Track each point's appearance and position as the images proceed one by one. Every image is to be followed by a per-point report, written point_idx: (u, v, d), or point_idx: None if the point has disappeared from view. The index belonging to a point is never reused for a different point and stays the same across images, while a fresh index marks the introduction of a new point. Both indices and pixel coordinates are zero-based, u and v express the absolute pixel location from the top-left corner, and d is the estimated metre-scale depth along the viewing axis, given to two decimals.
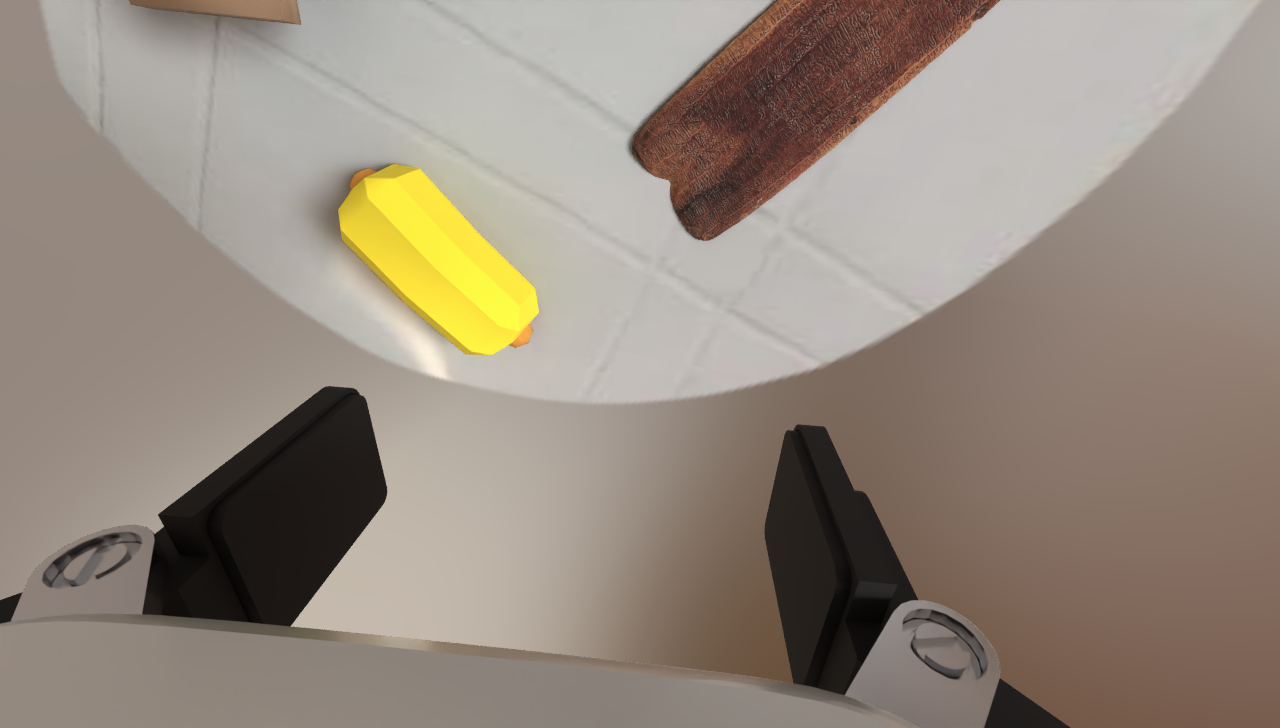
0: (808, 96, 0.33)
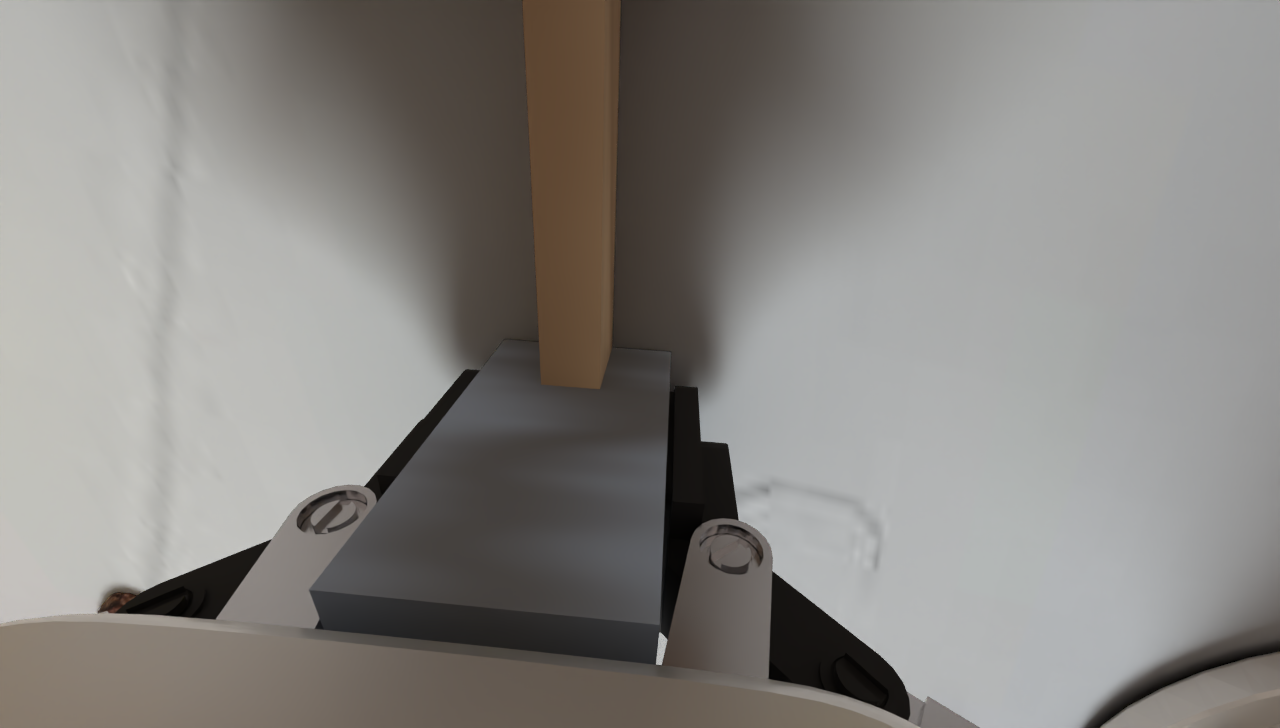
0: None
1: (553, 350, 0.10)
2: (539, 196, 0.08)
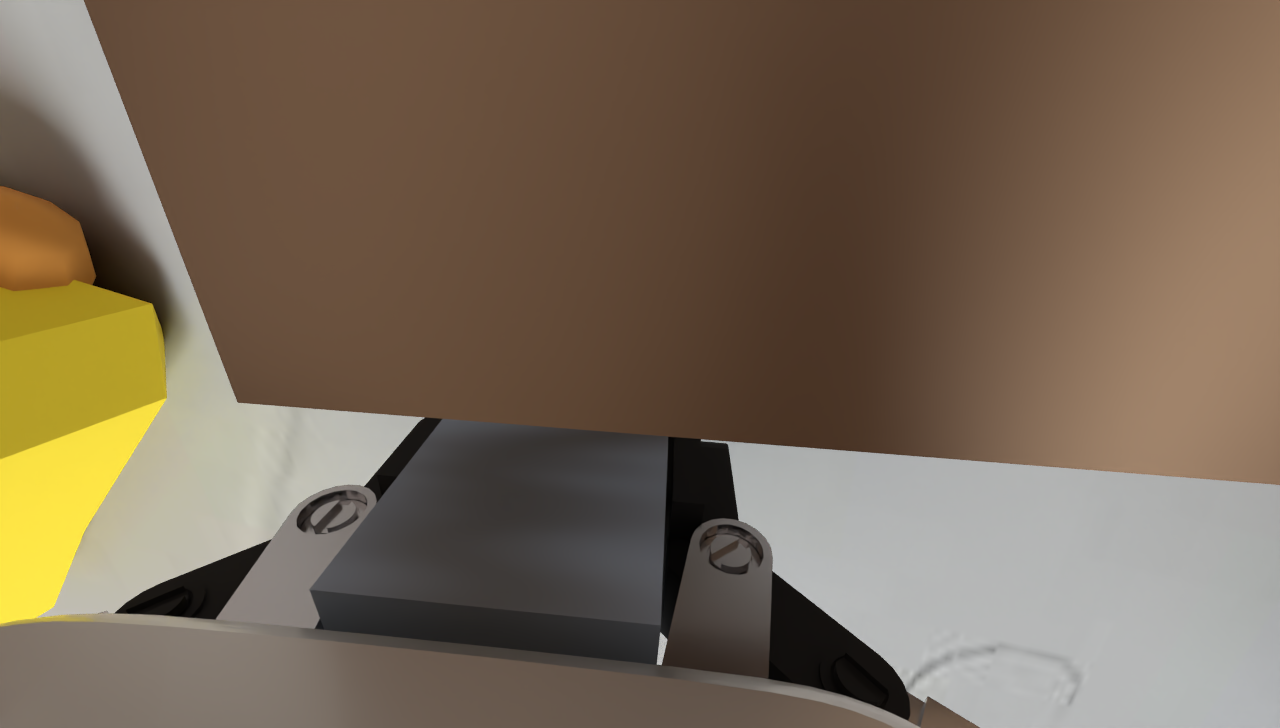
0: None
1: None
2: None
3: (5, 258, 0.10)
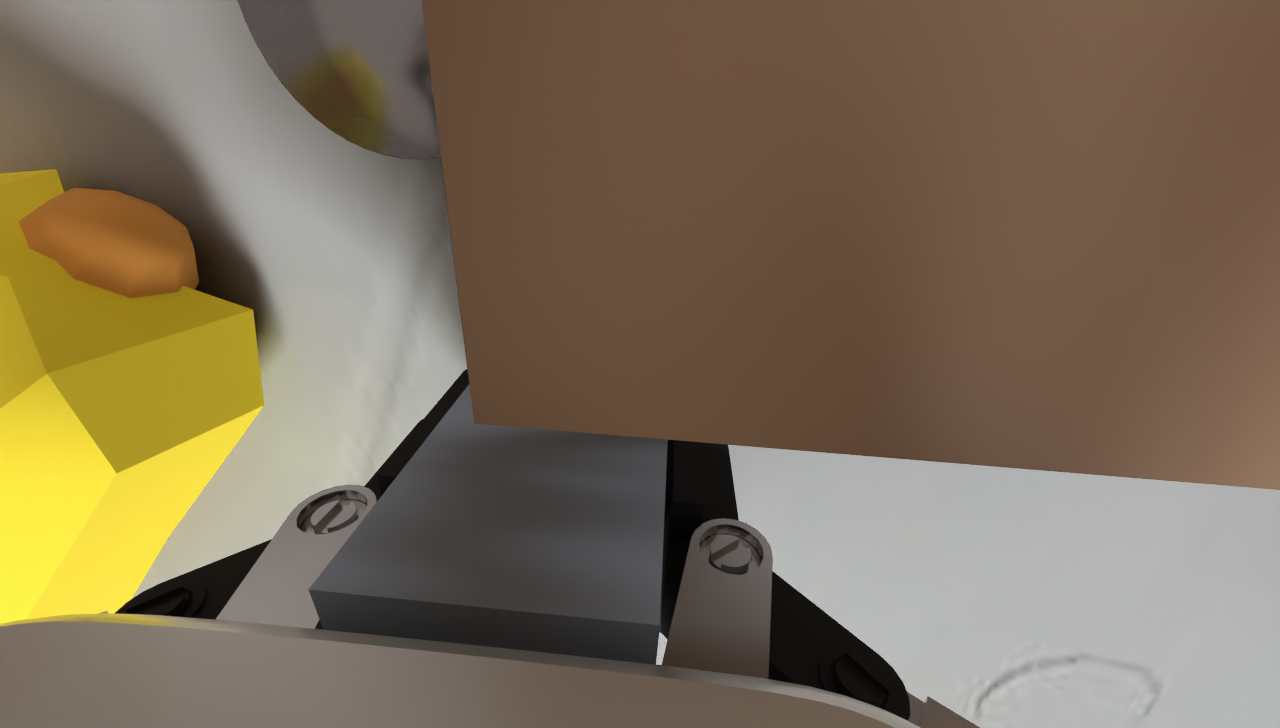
0: None
1: None
2: None
3: (125, 264, 0.10)
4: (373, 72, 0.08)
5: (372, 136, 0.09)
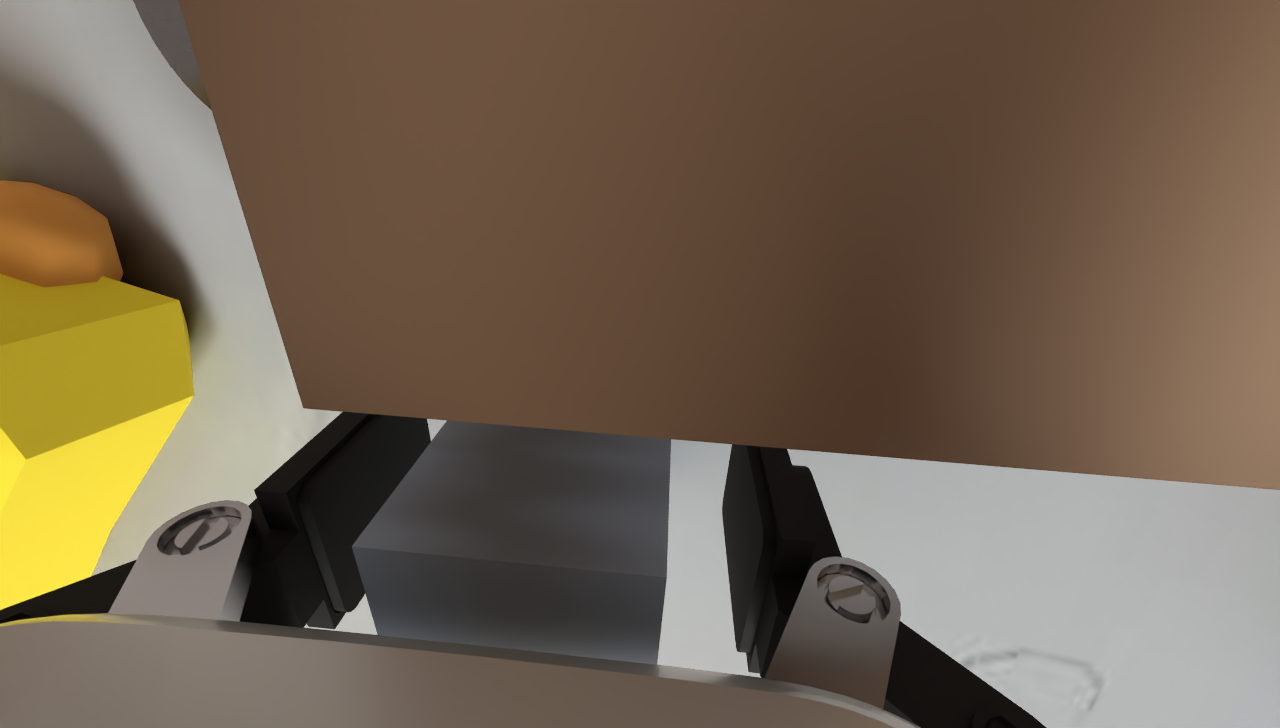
0: None
1: None
2: None
3: (36, 254, 0.10)
4: None
5: None
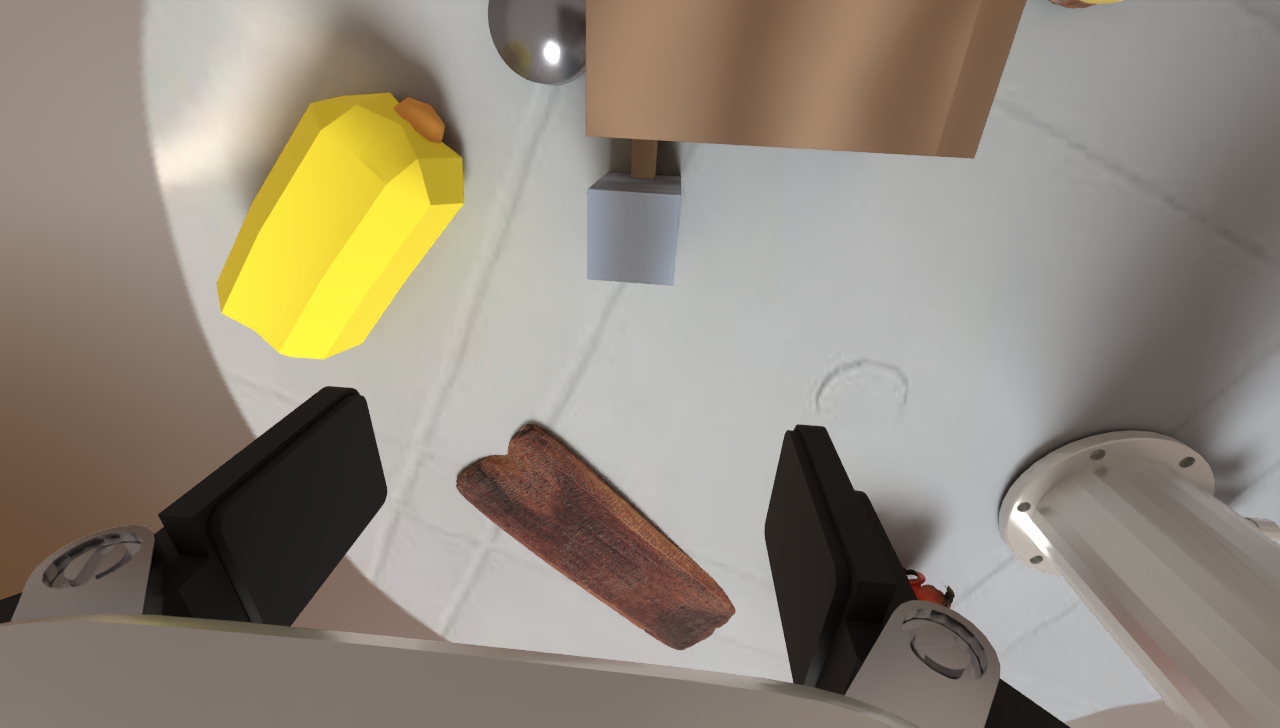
0: (588, 554, 0.40)
1: (636, 161, 0.25)
2: None
3: (430, 126, 0.25)
4: (534, 50, 0.24)
5: (530, 74, 0.24)
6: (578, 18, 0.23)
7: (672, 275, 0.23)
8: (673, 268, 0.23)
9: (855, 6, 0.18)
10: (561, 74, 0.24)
